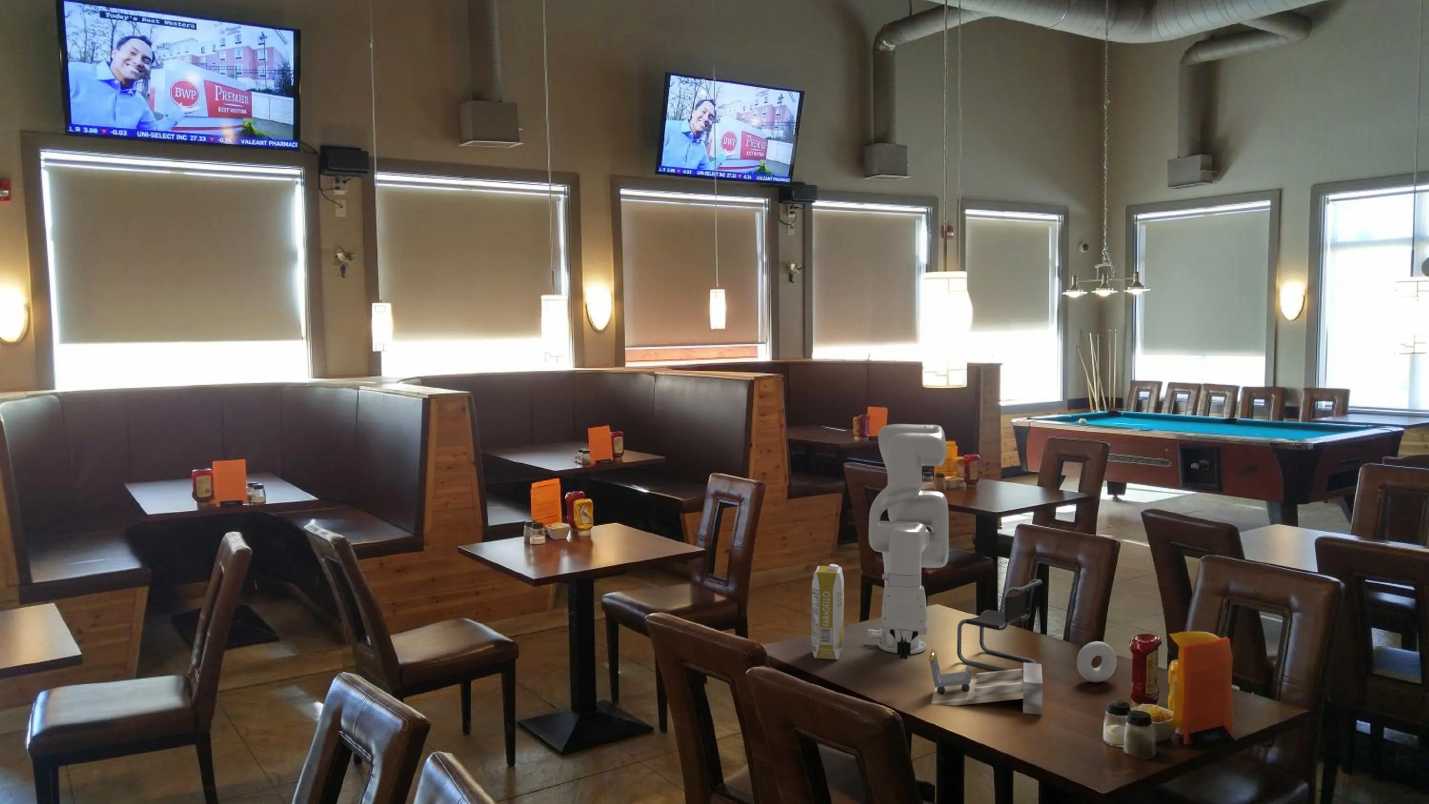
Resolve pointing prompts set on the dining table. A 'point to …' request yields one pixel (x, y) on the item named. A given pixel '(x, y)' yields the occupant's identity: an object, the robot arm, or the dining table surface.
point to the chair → (1001, 622)
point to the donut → (1087, 656)
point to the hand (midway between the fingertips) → (903, 657)
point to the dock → (999, 689)
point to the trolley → (948, 676)
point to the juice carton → (827, 612)
